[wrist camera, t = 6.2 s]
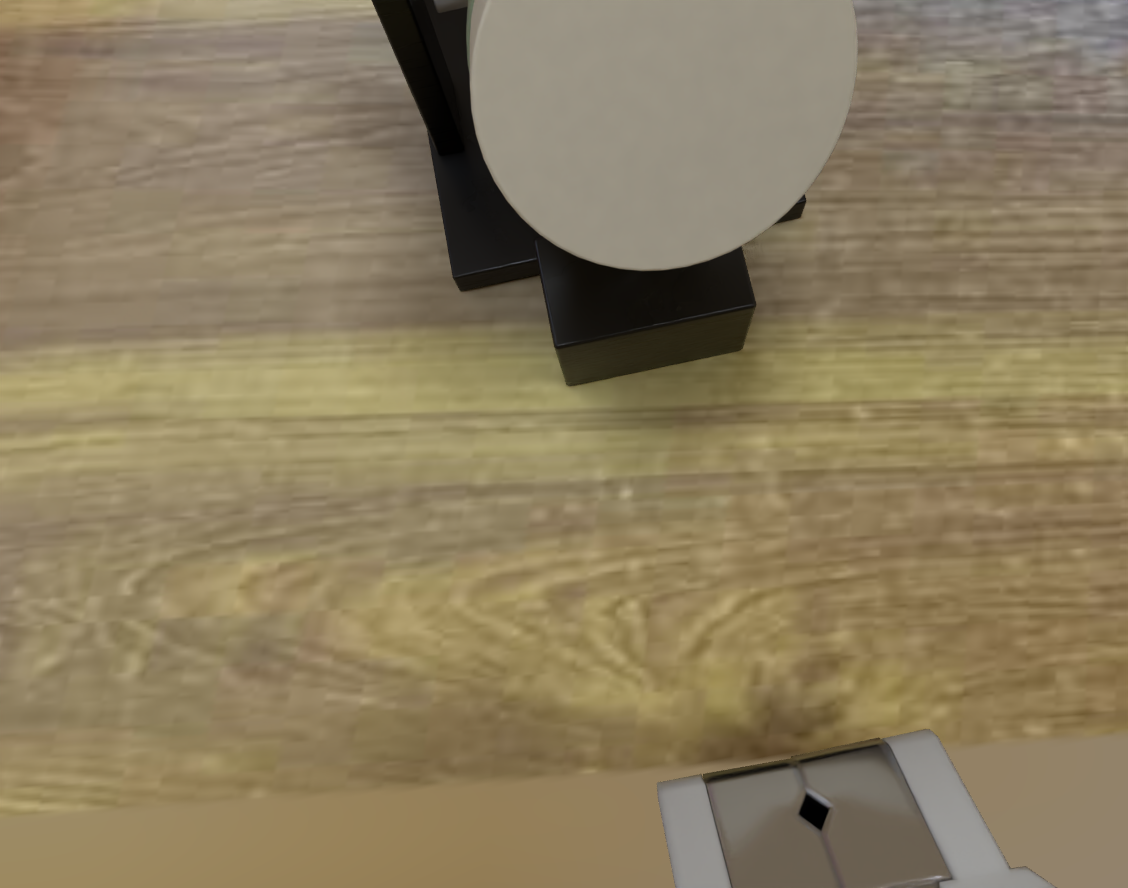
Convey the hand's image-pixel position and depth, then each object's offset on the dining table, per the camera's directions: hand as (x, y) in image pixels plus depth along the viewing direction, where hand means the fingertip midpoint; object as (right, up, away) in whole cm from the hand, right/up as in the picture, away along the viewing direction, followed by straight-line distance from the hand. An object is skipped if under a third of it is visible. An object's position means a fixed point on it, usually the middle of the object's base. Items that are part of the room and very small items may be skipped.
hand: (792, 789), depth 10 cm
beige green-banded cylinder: (-1, +10, +9) cm, 13 cm away
